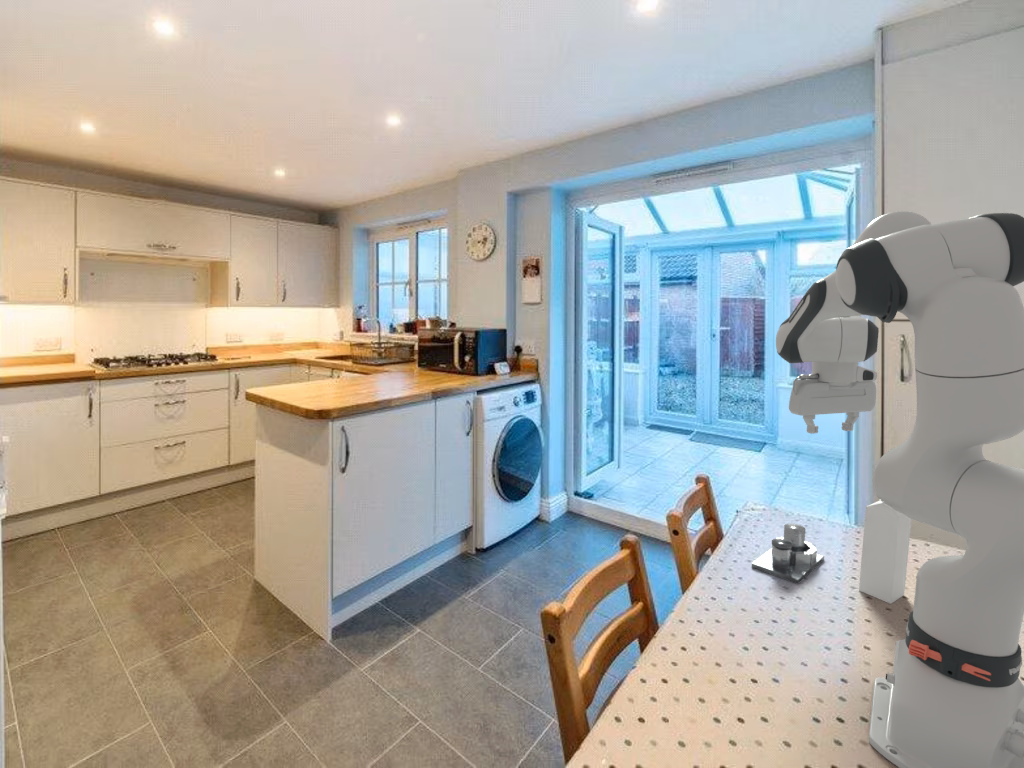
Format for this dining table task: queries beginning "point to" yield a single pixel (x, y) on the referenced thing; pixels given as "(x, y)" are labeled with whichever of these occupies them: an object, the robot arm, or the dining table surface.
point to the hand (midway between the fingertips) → (829, 431)
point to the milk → (884, 552)
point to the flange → (788, 560)
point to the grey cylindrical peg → (795, 536)
